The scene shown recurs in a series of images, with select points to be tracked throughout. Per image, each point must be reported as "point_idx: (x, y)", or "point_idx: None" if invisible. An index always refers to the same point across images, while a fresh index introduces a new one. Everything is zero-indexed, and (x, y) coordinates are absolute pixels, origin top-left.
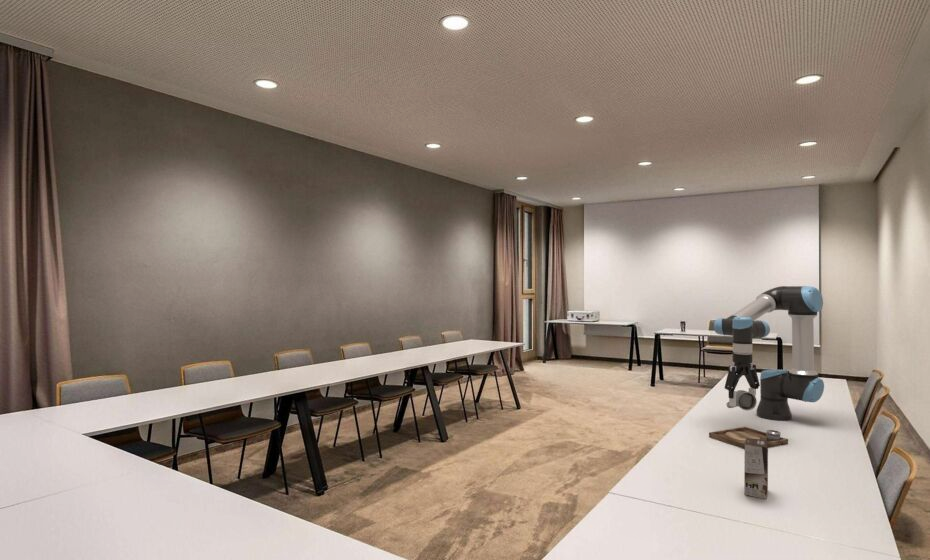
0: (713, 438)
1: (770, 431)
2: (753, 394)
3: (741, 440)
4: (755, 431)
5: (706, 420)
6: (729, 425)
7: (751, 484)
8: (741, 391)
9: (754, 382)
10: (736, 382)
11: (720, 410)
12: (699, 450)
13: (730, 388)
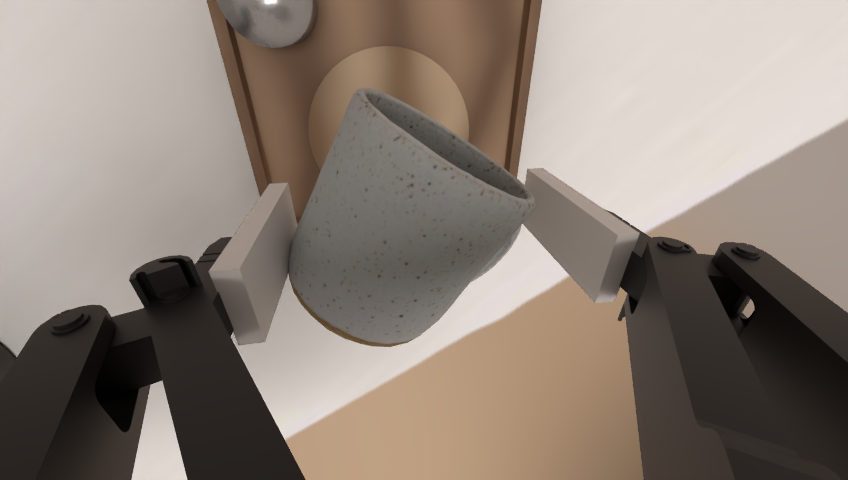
0: None
1: (277, 13)
2: (389, 134)
3: (455, 85)
4: (264, 167)
5: (323, 368)
6: (280, 304)
7: None
8: (451, 271)
9: (171, 360)
10: (708, 323)
11: (162, 448)
12: (704, 78)
13: (755, 248)
